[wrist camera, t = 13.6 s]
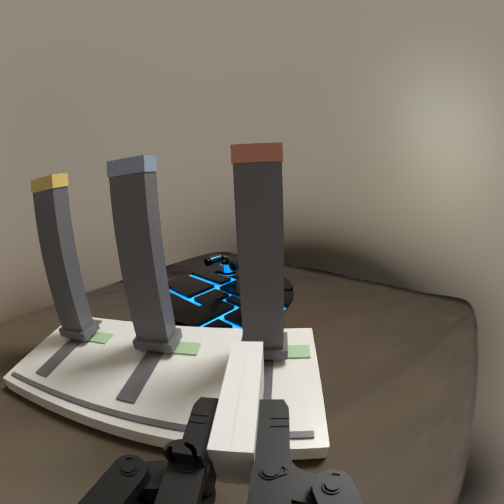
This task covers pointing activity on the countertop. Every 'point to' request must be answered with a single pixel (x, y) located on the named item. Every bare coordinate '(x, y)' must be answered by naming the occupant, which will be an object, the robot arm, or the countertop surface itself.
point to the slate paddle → (142, 252)
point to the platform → (212, 295)
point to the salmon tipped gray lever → (260, 244)
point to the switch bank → (165, 383)
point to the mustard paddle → (62, 256)
